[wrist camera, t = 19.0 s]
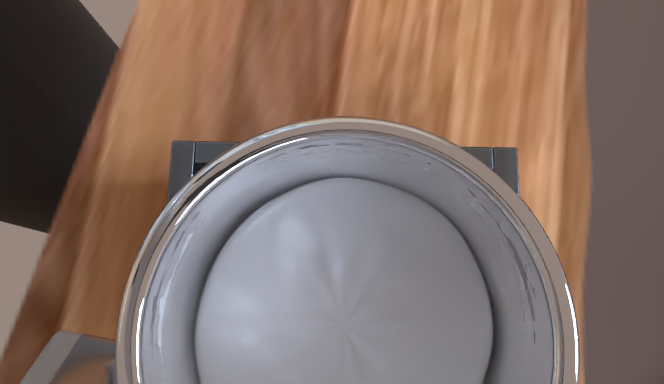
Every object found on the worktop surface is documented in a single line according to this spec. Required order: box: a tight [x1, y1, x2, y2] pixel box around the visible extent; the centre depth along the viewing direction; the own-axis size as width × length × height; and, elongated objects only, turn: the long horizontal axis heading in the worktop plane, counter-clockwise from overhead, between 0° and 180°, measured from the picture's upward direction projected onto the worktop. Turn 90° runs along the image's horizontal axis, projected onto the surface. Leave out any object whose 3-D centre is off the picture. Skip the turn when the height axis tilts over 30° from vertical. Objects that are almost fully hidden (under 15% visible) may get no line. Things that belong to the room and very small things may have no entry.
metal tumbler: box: [116, 116, 579, 384], centre depth 15 cm, size 7×7×15 cm
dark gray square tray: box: [167, 141, 519, 204], centre depth 21 cm, size 12×12×6 cm
